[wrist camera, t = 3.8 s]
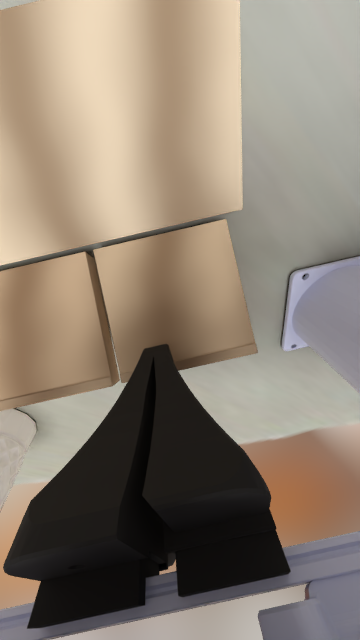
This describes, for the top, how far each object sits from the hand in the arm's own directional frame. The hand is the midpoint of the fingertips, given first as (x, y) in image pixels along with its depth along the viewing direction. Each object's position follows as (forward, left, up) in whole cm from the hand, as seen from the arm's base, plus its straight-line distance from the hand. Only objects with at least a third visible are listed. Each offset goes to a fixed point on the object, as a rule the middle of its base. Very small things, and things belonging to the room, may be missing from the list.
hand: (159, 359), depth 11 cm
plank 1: (+7, -2, -3) cm, 8 cm away
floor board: (+2, -10, -5) cm, 12 cm away
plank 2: (-2, -2, -3) cm, 4 cm away
